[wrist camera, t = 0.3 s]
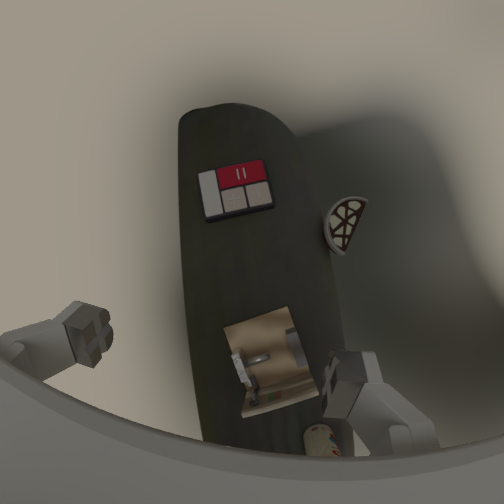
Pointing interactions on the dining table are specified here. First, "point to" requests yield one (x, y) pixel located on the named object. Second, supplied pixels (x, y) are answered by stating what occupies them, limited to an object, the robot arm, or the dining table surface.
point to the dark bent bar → (255, 395)
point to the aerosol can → (320, 441)
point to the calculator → (234, 190)
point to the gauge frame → (273, 361)
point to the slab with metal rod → (247, 364)
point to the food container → (342, 223)
